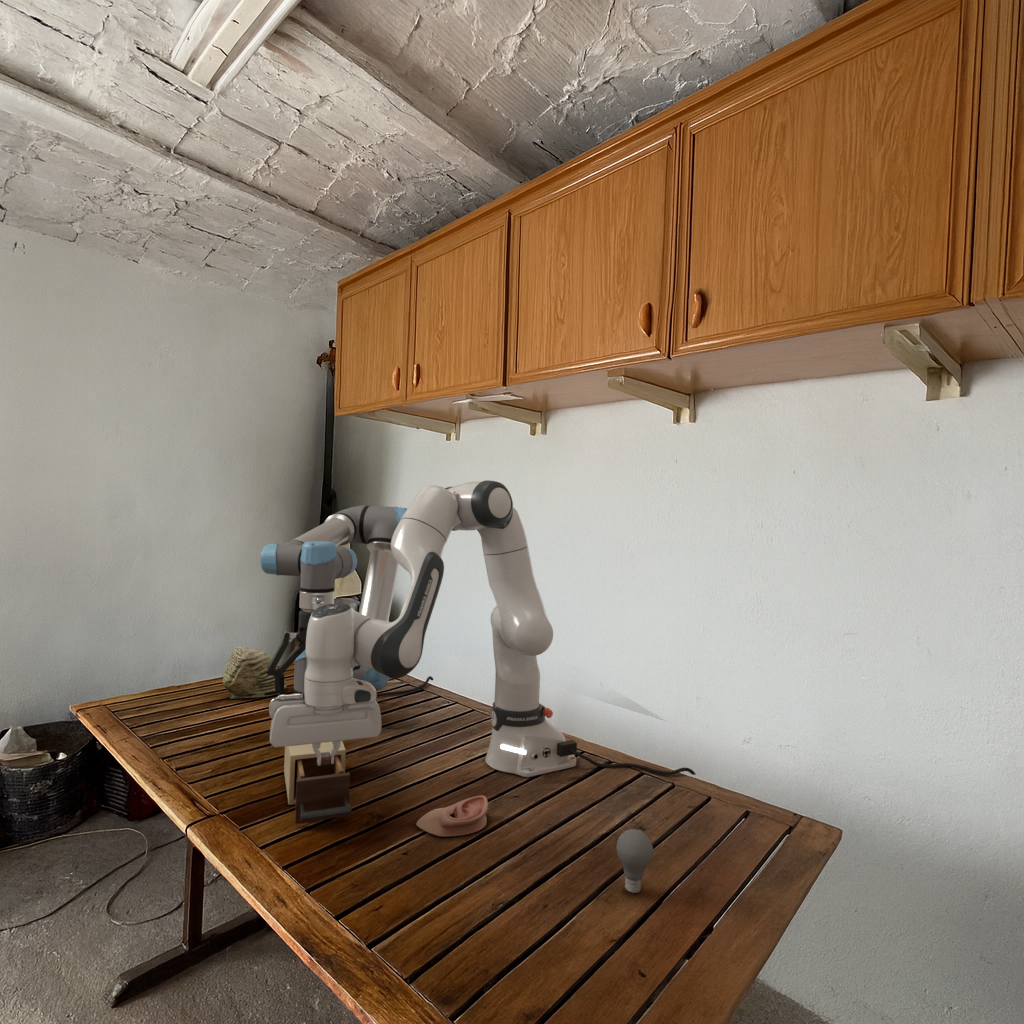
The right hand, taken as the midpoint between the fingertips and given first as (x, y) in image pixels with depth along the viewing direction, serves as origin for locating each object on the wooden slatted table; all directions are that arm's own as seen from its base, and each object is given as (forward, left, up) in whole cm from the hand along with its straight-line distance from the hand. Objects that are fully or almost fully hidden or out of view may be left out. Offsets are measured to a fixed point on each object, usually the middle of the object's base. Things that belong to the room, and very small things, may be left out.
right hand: (325, 763), depth 120 cm
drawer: (0, -7, -12) cm, 14 cm away
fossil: (+15, -89, -13) cm, 91 cm away
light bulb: (-48, +33, -13) cm, 59 cm away
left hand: (+1, -26, +3) cm, 27 cm away
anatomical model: (-24, +4, -13) cm, 28 cm away
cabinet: (+1, -21, -13) cm, 25 cm away
